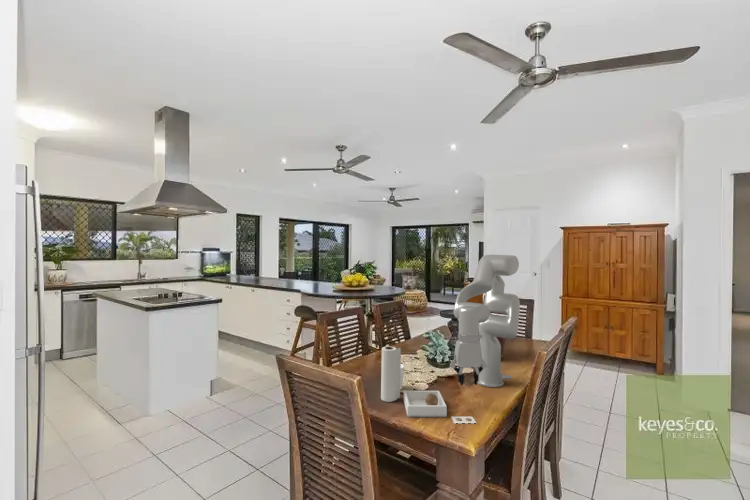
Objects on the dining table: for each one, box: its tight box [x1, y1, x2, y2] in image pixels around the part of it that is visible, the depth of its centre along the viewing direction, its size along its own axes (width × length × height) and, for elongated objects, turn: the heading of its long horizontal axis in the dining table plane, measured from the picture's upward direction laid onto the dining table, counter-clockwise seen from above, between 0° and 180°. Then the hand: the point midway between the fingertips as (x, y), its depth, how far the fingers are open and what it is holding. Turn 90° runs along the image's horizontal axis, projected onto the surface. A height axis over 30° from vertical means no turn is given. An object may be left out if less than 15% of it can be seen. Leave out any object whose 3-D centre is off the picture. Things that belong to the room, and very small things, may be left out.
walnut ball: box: [462, 372, 475, 387], centre depth 146 cm, size 5×5×5 cm
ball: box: [425, 394, 438, 405], centre depth 145 cm, size 5×5×5 cm
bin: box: [403, 390, 448, 418], centre depth 145 cm, size 15×15×4 cm
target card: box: [450, 416, 477, 425], centre depth 136 cm, size 8×5×1 cm, turn 91°
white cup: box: [400, 363, 405, 388], centre depth 165 cm, size 8×8×10 cm
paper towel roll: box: [380, 346, 402, 403], centre depth 153 cm, size 7×6×21 cm
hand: (468, 383), depth 146 cm, fingers closed on walnut ball, 4 cm apart
